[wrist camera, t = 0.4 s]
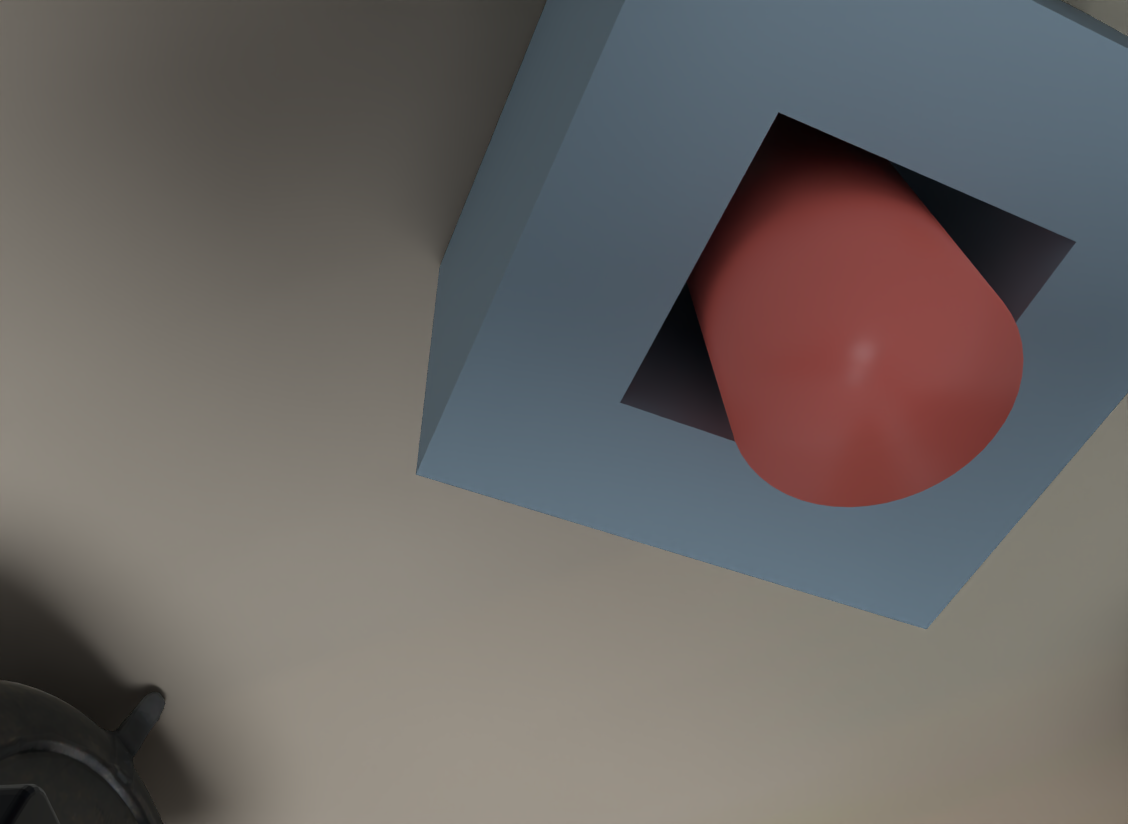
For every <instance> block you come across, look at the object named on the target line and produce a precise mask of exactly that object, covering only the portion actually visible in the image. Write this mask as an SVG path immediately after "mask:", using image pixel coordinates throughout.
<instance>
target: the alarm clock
mask: <svg viewBox="0 0 1128 824" xmlns="http://www.w3.org/2000/svg"><path fill="white" fill-rule="evenodd" d="M164 705H165V701H164V698H163V697H162V695H161V694H160V693H159V692H152V693H149V694H148V695H146V696H145V697H144V698H143V699H142V700H141V702H140V703H139V704H138V705H137V707H136V708H135V709H134V710H133V711H132V713H131V714H130V715H129V716H128V717H127V719H126V720H125V721H124V722H123V723H122V724H121V725H120V727H119V728H118V729H117V730H116V731H113V732H111V731H107V730H104V729H102V728H100V727H98V726H97V725H96V724H95V723H94V722H93V721H92V720H90V719H89V718H88V717H87V716H85V715H84V714H83V713H82V712H80V711H79V710H77V709H76V708H74V707H73V706H71V705H70V704H68V703H66V702H64V701H63V700H61V699H59V698H57V697H55V696H53V695H51V694H48V693H46V692H44V691H41V690H39V689H37V688H33V687H30V686H27V685H24V684H20V683H17V682H11V681H5V680H0V785H14V784H35V785H37V786H38V787H40V788H41V789H43V791H44V792H45V794H46V796H47V798H48V800H49V802H50V804H51V806H52V808H53V810H54V812H55V814H56V816H57V818H58V821H59V823H60V824H163V823H162V820H161V818H160V816H159V814H158V812H157V809H156V807H155V805H154V803H153V801H152V799H151V797H150V795H149V793H148V791H147V789H146V787H145V785H144V784H143V782H142V780H141V779H140V777H139V775H138V774H137V772H136V770H135V768H134V766H133V760H132V758H133V757H134V755H135V754H136V753H137V751H138V750H139V749H140V747H141V745H142V743H143V741H144V739H145V737H146V736H147V735H148V733H149V732H150V730H151V729H152V727H153V726H154V724H155V723H156V722H157V721H158V720H159V718H160V715H161V713H162V711H163V709H164Z"/></svg>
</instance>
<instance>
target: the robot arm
mask: <svg viewBox="0 0 1128 824" xmlns="http://www.w3.org/2000/svg"><path fill="white" fill-rule="evenodd" d="M0 824H60V823H59V821H58V818H57V816H56V814H55V812H54V810H53V808H52V806H51V804H50V802H49V800H48V798H47V796H46V794H45V792H44V791H43V789H41V788H40V787H38V786H37V785H35V784H14V785H0Z"/></svg>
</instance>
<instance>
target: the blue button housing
mask: <svg viewBox="0 0 1128 824" xmlns="http://www.w3.org/2000/svg"><path fill="white" fill-rule="evenodd" d="M778 112H779V113H781V114H784V115H786V116H788V117H791V118H793V119H795V120H798V121H800V122H802V123H804V124H807V125H809V126H811V127H814V128H816V129H818V130H821V131H823V132H825V133H827V134H830V135H832V136H834V137H837V138H839V139H841V140H844V141H846V142H848V143H850V144H853V145H855V146H857V147H860V148H862V149H864V150H866V151H869V152H871V153H873V154H876V155H878V156H880V157H883V158H885V159H887V160H889V162H890V163H891V164H892V165H893V166H894V168H895V169H896V170H897V171H898V173H899V174H900V175H901V176H902V178H903V179H904V180H905V181H906V183H907V184H908V185H909V186H910V187H911V189H912V190H913V191H914V192H915V194H916V195H917V196H918V197H919V199H920V200H921V201H922V202H923V203H924V205H925V206H926V207H927V208H928V210H929V211H930V212H931V213H932V215H933V216H934V217H935V218H936V220H937V221H938V222H939V223H940V224H941V226H942V227H943V228H944V229H945V231H946V232H947V233H948V234H949V236H950V237H951V238H952V239H953V241H954V242H955V243H956V244H957V245H958V247H959V248H960V249H961V250H962V252H963V253H964V254H965V255H966V257H967V258H968V259H969V260H970V262H971V263H972V264H973V265H974V266H975V268H976V269H977V270H978V271H979V273H980V274H981V275H982V276H983V278H984V279H985V280H986V281H987V282H988V284H989V285H990V286H991V287H992V289H993V290H994V291H995V292H996V294H997V295H998V296H999V297H1000V299H1001V300H1002V301H1003V302H1004V304H1005V305H1006V307H1007V308H1008V310H1009V311H1010V313H1011V314H1012V316H1013V318H1014V320H1015V323H1016V325H1017V327H1018V330H1019V334H1020V337H1021V341H1022V348H1023V359H1024V360H1023V373H1022V379H1021V384H1020V388H1019V392H1018V395H1017V397H1016V400H1015V403H1014V405H1013V408H1012V410H1011V411H1010V413H1009V415H1008V417H1007V419H1006V421H1005V423H1004V424H1003V425H1002V427H1001V428H1000V430H999V431H998V433H997V434H996V435H995V437H994V438H993V439H992V440H991V441H990V442H989V444H988V445H987V446H986V447H985V448H984V449H983V450H982V451H981V452H980V453H979V454H978V455H977V456H976V457H975V458H974V459H973V460H972V461H970V462H969V463H968V464H967V465H965V466H964V467H963V468H961V469H960V470H959V471H957V472H956V473H955V474H953V475H952V476H950V477H948V478H947V479H945V480H943V481H942V482H940V483H938V484H936V485H934V486H932V487H930V488H928V489H926V490H924V491H922V492H919V493H917V494H914V495H911V496H909V497H906V498H903V499H899V500H896V501H892V502H888V503H883V504H877V505H871V506H861V507H833V506H826V505H819V504H814V503H810V502H806V501H803V500H799V499H797V498H794V497H792V496H789V495H787V494H785V493H783V492H781V491H779V490H778V489H776V488H774V487H772V486H771V485H770V484H768V483H767V482H766V481H765V480H763V479H762V478H761V477H760V476H759V475H758V474H757V473H756V472H755V471H754V470H753V469H752V468H751V467H750V466H749V465H748V463H747V462H746V460H745V459H744V457H743V456H742V455H741V453H740V450H739V448H738V446H737V444H736V442H735V439H734V436H733V433H732V430H731V426H730V423H729V420H728V416H727V413H726V410H725V407H724V403H723V400H722V397H721V393H720V390H719V387H718V384H717V380H716V377H715V374H714V370H713V367H712V364H711V361H710V357H709V354H708V351H707V347H706V344H705V341H704V338H703V334H702V331H701V328H700V324H699V321H698V318H697V315H696V311H695V308H694V305H693V301H692V298H691V295H690V292H689V288H688V285H687V282H686V281H687V279H688V277H689V275H690V273H691V272H692V270H693V268H694V266H695V264H696V262H697V261H698V259H699V257H700V255H701V253H702V251H703V250H704V248H705V246H706V244H707V242H708V240H709V239H710V237H711V235H712V233H713V231H714V230H715V228H716V226H717V224H718V222H719V220H720V219H721V217H722V215H723V213H724V211H725V209H726V208H727V206H728V204H729V202H730V200H731V198H732V197H733V195H734V193H735V191H736V189H737V187H738V186H739V184H740V182H741V180H742V178H743V176H744V175H745V173H746V171H747V169H748V167H749V165H750V164H751V162H752V160H753V158H754V156H755V154H756V153H757V151H758V149H759V147H760V145H761V143H762V142H763V140H764V138H765V136H766V134H767V132H768V131H769V129H770V127H771V125H772V123H773V121H774V120H775V118H776V116H777V114H778ZM1127 393H1128V36H1126V35H1124V34H1122V33H1120V32H1119V31H1117V30H1115V29H1113V28H1112V27H1110V26H1108V25H1106V24H1104V23H1103V22H1101V21H1099V20H1097V19H1095V18H1094V17H1092V16H1090V15H1088V14H1086V13H1084V12H1082V11H1080V10H1078V9H1076V8H1074V7H1072V6H1070V5H1069V4H1067V3H1065V2H1063V1H1061V0H547V2H546V4H545V6H544V9H543V11H542V14H541V16H540V19H539V21H538V24H537V26H536V29H535V31H534V34H533V36H532V39H531V41H530V44H529V46H528V49H527V51H526V54H525V56H524V59H523V61H522V64H521V66H520V69H519V71H518V74H517V76H516V79H515V81H514V83H513V86H512V88H511V91H510V93H509V96H508V98H507V101H506V103H505V106H504V108H503V111H502V113H501V116H500V118H499V121H498V123H497V126H496V128H495V131H494V133H493V136H492V138H491V141H490V143H489V146H488V148H487V151H486V153H485V156H484V158H483V160H482V163H481V165H480V168H479V170H478V173H477V175H476V178H475V180H474V183H473V185H472V188H471V190H470V193H469V195H468V198H467V200H466V203H465V205H464V208H463V210H462V213H461V215H460V218H459V220H458V223H457V225H456V228H455V230H454V233H453V235H452V237H451V240H450V242H449V245H448V247H447V250H446V252H445V255H444V257H443V260H442V262H441V265H440V268H439V277H438V286H437V294H436V303H435V312H434V321H433V329H432V338H431V347H430V356H429V365H428V373H427V382H426V391H425V400H424V408H423V417H422V426H421V435H420V443H419V452H418V461H417V470H416V475H419V476H423V477H426V478H429V479H432V480H436V481H439V482H442V483H446V484H449V485H452V486H456V487H459V488H462V489H465V490H469V491H472V492H475V493H479V494H482V495H485V496H489V497H492V498H495V499H498V500H502V501H505V502H508V503H512V504H515V505H518V506H521V507H525V508H528V509H531V510H535V511H538V512H541V513H545V514H548V515H551V516H554V517H558V518H561V519H564V520H568V521H571V522H574V523H578V524H581V525H584V526H587V527H591V528H594V529H597V530H601V531H604V532H607V533H611V534H614V535H617V536H620V537H624V538H627V539H630V540H634V541H637V542H640V543H643V544H647V545H650V546H653V547H657V548H660V549H663V550H667V551H670V552H673V553H676V554H680V555H683V556H686V557H690V558H693V559H696V560H700V561H703V562H706V563H709V564H713V565H716V566H719V567H723V568H726V569H729V570H733V571H736V572H739V573H742V574H746V575H749V576H752V577H756V578H759V579H762V580H766V581H769V582H772V583H775V584H779V585H782V586H785V587H789V588H792V589H795V590H798V591H802V592H805V593H808V594H812V595H815V596H818V597H822V598H825V599H828V600H831V601H835V602H838V603H841V604H845V605H848V606H851V607H855V608H858V609H861V610H864V611H868V612H871V613H874V614H878V615H881V616H884V617H888V618H891V619H894V620H897V621H901V622H904V623H907V624H911V625H914V626H917V627H921V628H924V629H927V628H928V627H929V626H930V624H931V623H932V622H933V621H934V620H935V619H936V617H937V616H938V615H939V614H940V613H941V612H942V610H943V609H944V608H945V607H946V606H947V604H948V603H949V602H950V601H951V600H952V599H953V597H954V596H955V595H956V594H957V593H958V592H959V590H960V589H961V588H962V587H963V586H964V585H965V583H966V582H967V581H968V580H969V579H970V577H971V576H972V575H973V574H974V573H975V572H976V570H977V569H978V568H979V567H980V566H981V565H982V563H983V562H984V561H985V560H986V559H987V557H988V556H989V555H990V554H991V553H992V552H993V550H994V549H995V548H996V547H997V546H998V545H999V543H1000V542H1001V541H1002V540H1003V539H1004V538H1005V536H1006V535H1007V534H1008V533H1009V532H1010V530H1011V529H1012V528H1013V527H1014V526H1015V525H1016V523H1017V522H1018V521H1019V520H1020V519H1021V518H1022V516H1023V515H1024V514H1025V513H1026V512H1027V510H1028V509H1029V508H1030V507H1031V506H1032V505H1033V503H1034V502H1035V501H1036V500H1037V499H1038V498H1039V496H1040V495H1041V494H1042V493H1043V492H1044V490H1045V489H1046V488H1047V487H1048V486H1049V485H1050V483H1051V482H1052V481H1053V480H1054V479H1055V478H1056V476H1057V475H1058V474H1059V473H1060V472H1061V471H1062V469H1063V468H1064V467H1065V466H1066V465H1067V463H1068V462H1069V461H1070V460H1071V459H1072V458H1073V456H1074V455H1075V454H1076V453H1077V452H1078V451H1079V449H1080V448H1081V447H1082V446H1083V445H1084V443H1085V442H1086V441H1087V440H1088V439H1089V438H1090V436H1091V435H1092V434H1093V433H1094V432H1095V431H1096V429H1097V428H1098V427H1099V426H1100V425H1101V424H1102V422H1103V421H1104V420H1105V419H1106V418H1107V416H1108V415H1109V414H1110V413H1111V412H1112V411H1113V409H1114V408H1115V407H1116V406H1117V405H1118V404H1119V402H1120V401H1121V400H1122V399H1123V398H1124V396H1125V395H1126V394H1127Z"/></svg>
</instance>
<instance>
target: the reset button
mask: <svg viewBox="0 0 1128 824" xmlns="http://www.w3.org/2000/svg"><path fill="white" fill-rule="evenodd" d="M686 282H687V285H688V288H689V292H690V295H691V298H692V301H693V305H694V308H695V311H696V315H697V318H698V321H699V324H700V328H701V331H702V334H703V338H704V341H705V344H706V347H707V351H708V354H709V357H710V361H711V364H712V367H713V370H714V374H715V377H716V380H717V384H718V387H719V390H720V393H721V397H722V400H723V403H724V407H725V410H726V413H727V416H728V420H729V423H730V426H731V430H732V433H733V436H734V439H735V442H736V444H737V446H738V448H739V450H740V453H741V455H742V456H743V457H744V459H745V460H746V462H747V463H748V465H749V466H750V467H751V468H752V469H753V470H754V471H755V472H756V473H757V474H758V475H759V476H760V477H761V478H762V479H763V480H765V481H766V482H767V483H768V484H770V485H771V486H772V487H774V488H776V489H778V490H779V491H781V492H783V493H785V494H787V495H789V496H792V497H794V498H797V499H799V500H803V501H806V502H810V503H814V504H819V505H826V506H833V507H861V506H871V505H877V504H883V503H888V502H892V501H896V500H899V499H903V498H906V497H909V496H911V495H914V494H917V493H919V492H922V491H924V490H926V489H928V488H930V487H932V486H934V485H936V484H938V483H940V482H942V481H943V480H945V479H947V478H948V477H950V476H952V475H953V474H955V473H956V472H957V471H959V470H960V469H961V468H963V467H964V466H965V465H967V464H968V463H969V462H970V461H972V460H973V459H974V458H975V457H976V456H977V455H978V454H979V453H980V452H981V451H982V450H983V449H984V448H985V447H986V446H987V445H988V444H989V442H990V441H991V440H992V439H993V438H994V437H995V435H996V434H997V433H998V431H999V430H1000V428H1001V427H1002V425H1003V424H1004V423H1005V421H1006V419H1007V417H1008V415H1009V413H1010V411H1011V410H1012V408H1013V405H1014V403H1015V400H1016V397H1017V395H1018V392H1019V388H1020V384H1021V379H1022V373H1023V360H1024V359H1023V348H1022V341H1021V337H1020V334H1019V330H1018V327H1017V325H1016V323H1015V320H1014V318H1013V316H1012V314H1011V313H1010V311H1009V310H1008V308H1007V307H1006V305H1005V304H1004V302H1003V301H1002V300H1001V299H1000V297H999V296H998V295H997V294H996V292H995V291H994V290H993V289H992V287H991V286H990V285H989V284H988V282H987V281H986V280H985V279H984V278H983V276H982V275H981V274H980V273H979V271H978V270H977V269H976V268H975V266H974V265H973V264H972V263H971V262H970V260H969V259H968V258H967V257H966V255H965V254H964V253H963V252H962V250H961V249H960V248H959V247H958V245H957V244H956V243H955V242H954V241H953V239H952V238H951V237H950V236H949V234H948V233H947V232H946V231H945V229H944V228H943V227H942V226H941V224H940V223H939V222H938V221H937V220H936V218H935V217H934V216H933V215H932V213H931V212H930V211H929V210H928V208H927V207H926V206H925V205H924V203H923V202H922V201H921V200H920V199H919V197H918V196H917V195H916V194H915V192H914V191H913V190H912V189H911V187H910V186H909V185H908V184H907V183H906V181H905V180H904V179H903V178H902V176H901V175H900V174H899V173H898V171H897V170H896V169H895V168H894V166H893V165H892V164H891V163H890V162H889V160H887V159H885V158H883V157H880V156H878V155H876V154H873V153H871V152H869V151H866V150H864V149H862V148H860V147H857V146H855V145H853V144H850V143H848V142H846V141H844V140H841V139H839V138H837V137H834V136H832V135H830V134H827V133H825V132H823V131H821V130H818V129H816V128H814V127H811V126H809V125H807V124H804V123H802V122H800V121H798V120H795V119H793V118H791V117H788V116H786V115H784V114H781V113H779V112H778V114H777V116H776V118H775V120H774V121H773V123H772V125H771V127H770V129H769V131H768V132H767V134H766V136H765V138H764V140H763V142H762V143H761V145H760V147H759V149H758V151H757V153H756V154H755V156H754V158H753V160H752V162H751V164H750V165H749V167H748V169H747V171H746V173H745V175H744V176H743V178H742V180H741V182H740V184H739V186H738V187H737V189H736V191H735V193H734V195H733V197H732V198H731V200H730V202H729V204H728V206H727V208H726V209H725V211H724V213H723V215H722V217H721V219H720V220H719V222H718V224H717V226H716V228H715V230H714V231H713V233H712V235H711V237H710V239H709V240H708V242H707V244H706V246H705V248H704V250H703V251H702V253H701V255H700V257H699V259H698V261H697V262H696V264H695V266H694V268H693V270H692V272H691V273H690V275H689V277H688V279H687V281H686Z"/></svg>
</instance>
